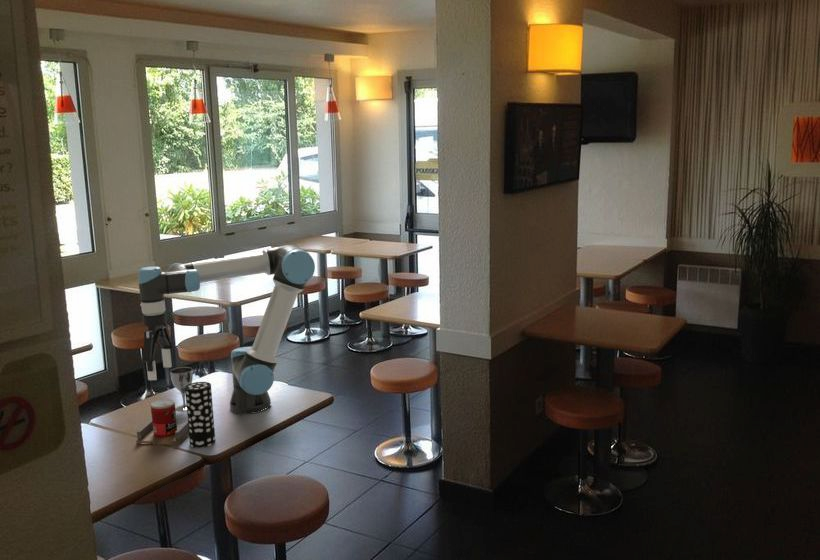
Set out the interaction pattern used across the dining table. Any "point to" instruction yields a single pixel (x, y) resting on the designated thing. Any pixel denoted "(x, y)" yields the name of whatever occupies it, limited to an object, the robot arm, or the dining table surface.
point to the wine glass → (181, 382)
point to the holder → (148, 436)
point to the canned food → (164, 417)
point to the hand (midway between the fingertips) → (160, 373)
